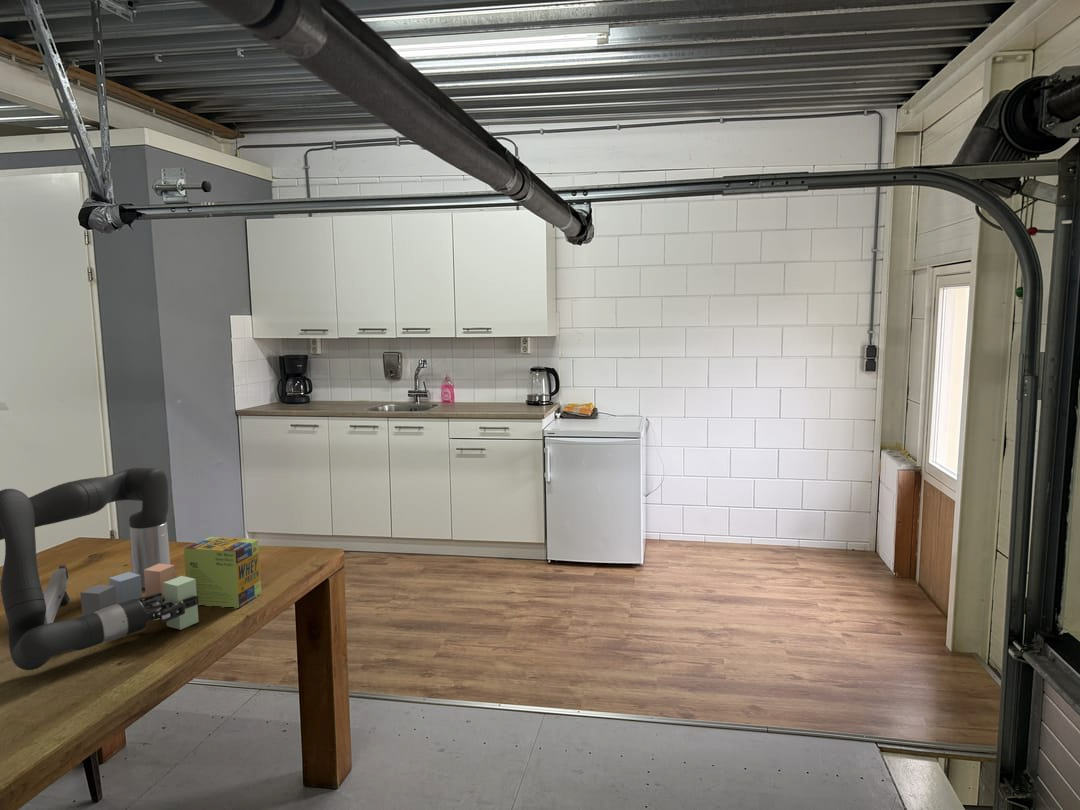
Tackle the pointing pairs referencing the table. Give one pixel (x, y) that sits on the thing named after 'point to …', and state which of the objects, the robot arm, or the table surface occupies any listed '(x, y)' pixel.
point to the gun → (56, 593)
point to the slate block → (126, 586)
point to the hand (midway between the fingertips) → (190, 596)
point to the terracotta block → (158, 578)
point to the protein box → (224, 570)
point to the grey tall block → (97, 598)
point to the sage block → (179, 591)
